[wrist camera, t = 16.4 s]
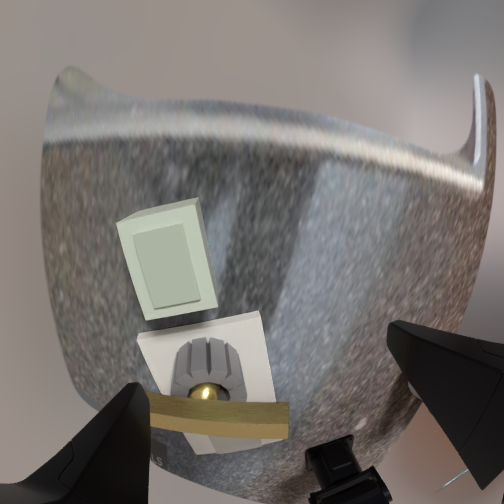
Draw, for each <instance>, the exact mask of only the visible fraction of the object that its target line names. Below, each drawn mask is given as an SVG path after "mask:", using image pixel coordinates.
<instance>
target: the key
mask: <svg viewBox="0 0 504 504" xmlns="http://www.w3.org/2000/svg"><path fill="white" fill-rule="evenodd" d="M220 387H221V384H216V383H211V382H206V383H200V384H197V385H195V386H194V387H192V390H191V393H190V396H189V398H186V397H178V396H170V395H163V394H156V393H150V392H145V393H146V395H147V396H148V398H149V402H150V426H151V427H156V428H162V429H167V430H173V431H179V432H185V433H192V434H200V435H209V436H219V437H231V438H249V439H288V421H289V402H237V401H219V400H218V396H219V391H220ZM122 389H123V388H122Z"/></svg>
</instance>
